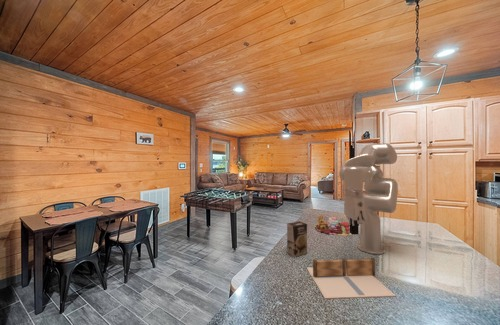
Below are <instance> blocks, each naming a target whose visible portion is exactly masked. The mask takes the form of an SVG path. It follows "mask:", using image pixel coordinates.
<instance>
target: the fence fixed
mask: <svg viewBox="0 0 500 325" xmlns="http://www.w3.org/2000/svg"><path fill="white" fill-rule="evenodd" d="M346 260H347V259H345V258H342V259H329V260H327V259H326V260H321V259H320V260H317V259H312V267H313V276H314V277H317V276H342V275H343V276H346Z"/></svg>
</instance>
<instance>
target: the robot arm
mask: <svg viewBox="0 0 500 325" xmlns="http://www.w3.org/2000/svg"><path fill="white" fill-rule="evenodd" d="M397 159H398V155H397V152H396V150H395V148H394V147H393V145H392V144H389V143H386V142H385V143H370V144H366V145H365V146H363V148H362V149H361V150H360V152H359V154H358V155H356V156H354V157H352V158H350V159H348V160H346V161H344V163H343V164H342V165H341V167H340V169H339V174H338V175H339V178H340V180H342V181H343V182H344V183H343V186H344V187H343V188H344V189H343V190H344V204H343V211H344V212H343V213H344V215H345V217H346V218H347V219H348V223H349V225H350V226H349V228H350V233H351V234H352V235H354V236H355V235H359V231H360V242H359V243H358V244H357V249H358V250H360V251H362V252H363V253H366V254H370V255H383V254H385V249H384V248H389V247H390V243H388V242H385V243H384V241H381V240H382V239H381V218H380V215H378V213H377V212H380V213H381V212H382V213H388V214H393V213H395V212H396V210H397V203H398V202H397V201H398V190H399V186H398V185H399V184H398V182H397V180H396V179H394V178H390V177H384V172H383V170H382V169H381V168H380V167H378V165H393V164H395V163H396V162H397ZM364 191H365V192H364ZM359 228H360V230H359ZM352 235H351V236H352Z"/></svg>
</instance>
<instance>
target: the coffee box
mask: <svg viewBox="0 0 500 325" xmlns="http://www.w3.org/2000/svg"><path fill="white" fill-rule="evenodd" d="M286 225H287V226H286V228H287V229H286V230H287V231H286V232H287V233H286V243H287V244H286V248H287V249H286V253H288V254H289V255H290V256H292V257H293V258H296V257H300V256H304V255H307V254H308V223H305V222H302V221H294V222H289V223H286Z"/></svg>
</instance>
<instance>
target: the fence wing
mask: <svg viewBox="0 0 500 325" xmlns="http://www.w3.org/2000/svg"><path fill="white" fill-rule="evenodd" d="M375 262H376V260H375V257H374V258H373V257H371V258H361V259H357V258H356V259H346V274H347V275H373V276H376V263H375Z"/></svg>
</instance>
